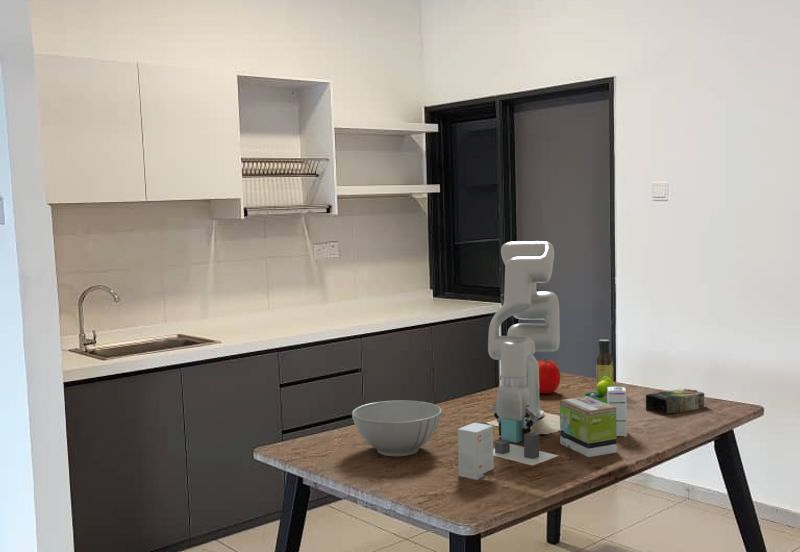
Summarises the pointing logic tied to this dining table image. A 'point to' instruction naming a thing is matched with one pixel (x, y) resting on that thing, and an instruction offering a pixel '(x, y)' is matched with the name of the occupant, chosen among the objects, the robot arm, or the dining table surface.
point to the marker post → (531, 445)
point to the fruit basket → (601, 390)
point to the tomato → (548, 376)
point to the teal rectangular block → (511, 430)
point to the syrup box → (619, 408)
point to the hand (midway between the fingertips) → (514, 437)
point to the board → (518, 453)
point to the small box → (475, 450)
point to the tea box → (588, 426)
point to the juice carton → (676, 400)
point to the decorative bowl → (397, 425)
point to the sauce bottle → (604, 362)
